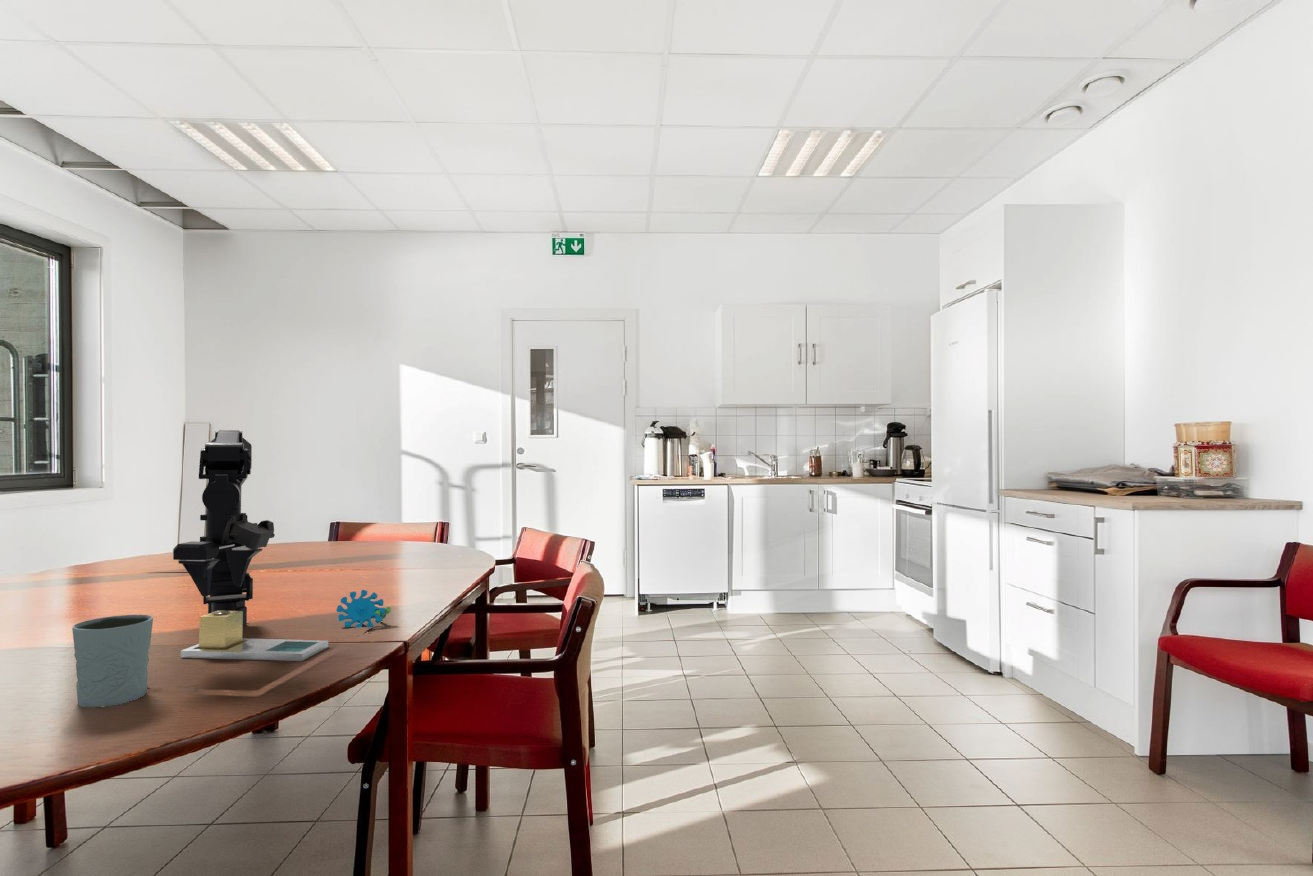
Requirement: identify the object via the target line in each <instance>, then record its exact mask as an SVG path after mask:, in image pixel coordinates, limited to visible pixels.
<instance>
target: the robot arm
mask: <svg viewBox="0 0 1313 876" xmlns="http://www.w3.org/2000/svg"><path fill="white" fill-rule="evenodd" d="M252 453H253V452H252V444H251V443H250V442H249V441H248V440H247V439H245V438H244V436H243V431H240V430H239V429H238V430H237V429H219V430H216V431H214V438H213V439H212V440H211V441H208V442H206V443H205V444H204V448H200V454H199V455H200V456H199V467H198V480H208V482H207V484H206V485H205V486H206V487H205V488H204V489H203V493H202V495H201V499H202V503H203V506H204V507H205V514H200V516H199V520H200V521H205V531H204V532H205V535H204V536H200V537H199V541H187V542H181V543H178V544H177V545H175V546H174V547H173V549H172V560H173V561H177V562H178V564H181V565H183V567H184V569H185V571H187V573H188V574H189V576H190V578H191V579H192V581H193V583H194V584H195V586H196V588H197V590H198V592H199V593H200V595H201V596H202V597H203V598H202V599H203V600H202V602H203V605H207V614H209V613H212V612H215V611H243V627H245V626H247V625H250V623H248V621H247V618H248V607H247V606H246V601H247V602H249V600H253V599H254V596H253V595H254V579H253V577H251V575H250V572H249V571H248V569H249V566H250V563H251V562H252V559H253V558H254V557H255V556H256V555H257V554H259V553H261V552H262V551H263V548H267V546H268V543H269V540H270V539H273V538H275V533H274V532H275V527H274V522H273V521H271V520H268V519H266V520H262V521H260V522H259V523H257V522H253V523H252V522H250V521H249V520H248V514H247V513H246V512H242V486H243V484H244V483H245V482H246V480H247V478H248V476H249V475H251V472H252V471H251V470H252V461H253V459H252V458H253V456H252Z"/></svg>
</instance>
